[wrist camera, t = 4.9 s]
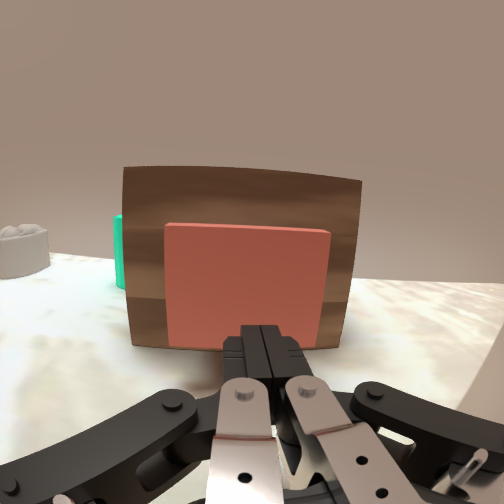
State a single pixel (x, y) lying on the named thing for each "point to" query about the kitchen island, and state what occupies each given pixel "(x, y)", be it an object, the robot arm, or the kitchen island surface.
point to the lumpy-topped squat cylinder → (23, 251)
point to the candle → (118, 251)
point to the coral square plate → (243, 281)
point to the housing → (232, 213)
